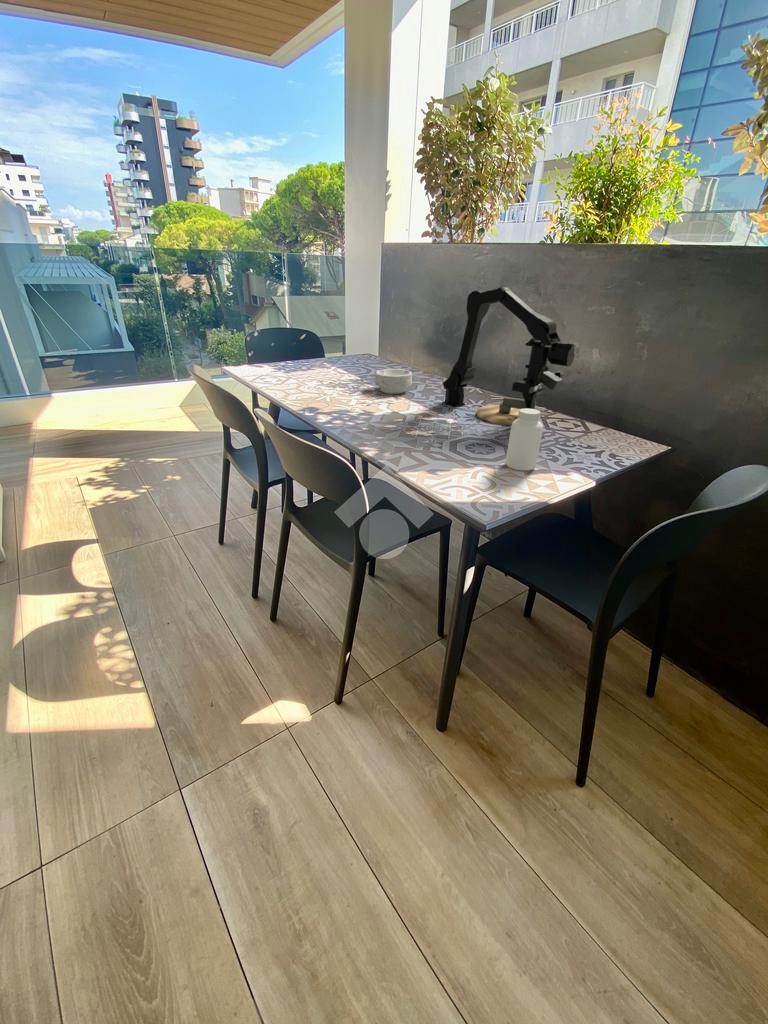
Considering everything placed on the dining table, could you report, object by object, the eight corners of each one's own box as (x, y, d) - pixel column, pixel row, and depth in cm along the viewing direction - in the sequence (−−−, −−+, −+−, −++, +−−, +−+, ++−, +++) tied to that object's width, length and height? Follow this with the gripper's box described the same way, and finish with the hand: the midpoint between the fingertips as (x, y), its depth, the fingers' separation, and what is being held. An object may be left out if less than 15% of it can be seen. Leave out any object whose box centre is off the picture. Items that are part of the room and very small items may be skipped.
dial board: (465, 414, 160) (466, 409, 160) (498, 406, 172) (498, 401, 171) (510, 428, 148) (511, 423, 147) (542, 418, 159) (543, 413, 158)
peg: (497, 412, 158) (499, 398, 156) (500, 409, 161) (502, 395, 159) (542, 418, 153) (545, 404, 150) (543, 415, 156) (546, 401, 154)
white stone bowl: (373, 386, 193) (373, 367, 189) (408, 386, 195) (409, 368, 191) (376, 396, 180) (376, 375, 176) (414, 396, 181) (415, 376, 177)
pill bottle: (500, 460, 124) (509, 406, 117) (529, 459, 125) (539, 406, 118) (510, 471, 117) (520, 415, 110) (540, 471, 118) (552, 415, 111)
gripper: (548, 369, 135) (537, 420, 142) (574, 362, 147) (563, 410, 154) (515, 363, 141) (506, 412, 149) (542, 357, 153) (533, 403, 161)
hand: (528, 409), depth 153 cm, fingers closed
